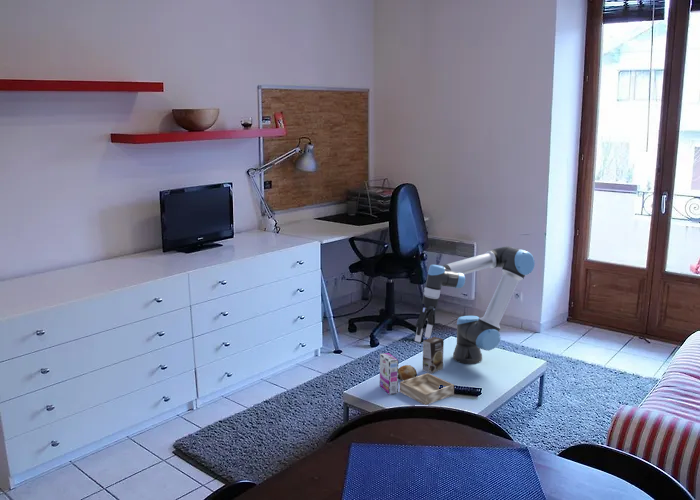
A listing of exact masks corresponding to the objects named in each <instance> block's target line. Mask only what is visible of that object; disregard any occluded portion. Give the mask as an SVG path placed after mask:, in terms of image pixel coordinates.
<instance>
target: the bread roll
mask: <svg viewBox="0 0 700 500" xmlns="http://www.w3.org/2000/svg"><path fill="white" fill-rule="evenodd" d="M417 374H418V371H417V369H416V368H415V367H414V366H412V365H409V364H405V365H401V366H400V367H398V380H400V381H405V380H408V379H411V378H414V377H417V376H418V375H417Z"/></svg>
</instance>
